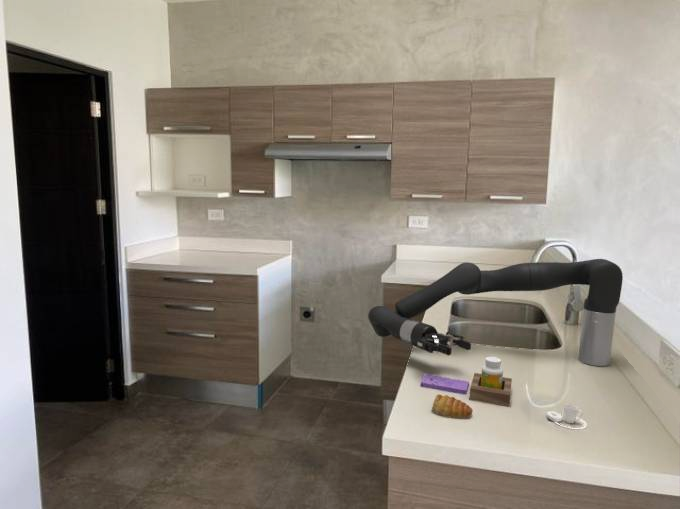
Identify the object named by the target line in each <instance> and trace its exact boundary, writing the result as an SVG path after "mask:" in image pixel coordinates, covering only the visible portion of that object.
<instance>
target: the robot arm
mask: <svg viewBox="0 0 680 509" xmlns="http://www.w3.org/2000/svg"><path fill="white" fill-rule="evenodd" d="M623 278H624V276H623V271H622V268H620V266H619V265H618V264H617V263H615V262H612V261H610V260H608V259H604V258H595V259H594V258H593V259H589V260H582V261H572V262H556V261H555V262H550V261H549V262H547V261H546V262H545V261H543V262H541V261H540V262H538V261H534V262H523V263H516V264H513V265H509V266H506V267H502V268H499V269H494V270H491V269H490V270H481V269H480V268H479V267H478V265H476V264H475V263H472V262H469V261H467V262H462V263H460V264H458V265H456V266H455V267H454V268H453V269H452V270H450V271H449V272H447V273H446V274H444V275H443V276H442V277H440V278H438V279H437V280H435V281H434V282H432V283H430V284H429V285H427V286H425V287H423V288H420V289H419V290H417V291H415V292H413V293H411V294H409V295H407V296H405V297H403V298H401V299H400V300H399V299H398V301H396V302H395V303H394V310H392V309H390V308H389V307H386V306H385V305H376V306H374V307H372V308H371V309H370V310H369V312H368V315H367V318H368V321H369V322H370V324H371V327H372V328H373V331H374V332H375V335H377V336H378V337H382V338H386V337H389V336H392V338H395V339H397V340H400V341H403V342H405V343H407V344H408V345H411V346H414V347H416V348H417V349H420V350H422V351H425V352H427V353H430V354H434V352H435V353H440V354H444V355H446V356H451V355H452V351H453V350H452V347H457V348H460V349H464V350H467V351H470V350H471V348H472V343H471V342H469V341H467V340H464V336H462V335H460V334H457V333H453V332H449V331H447V332H445V334H444V333H441V332H438V330H437V329H436V327H435V326H434V325H431V324H427V323H424V322H421V321H418V320H414V319H413V318H414V317H417V316H419V315H421V314H423V313H424V312H426V311H427V310H429V309H431V308H432V307H433V306H435V305H436V304H437V303H439V302H440V301H442V300H443V299H445V298H446V297H449V296H451V295H452V294H455V293H459V294H460V295H465V296H466V295H475V294H484V293H490V292H491V293H492V292H535V291H536V292H538V291H540V292H541V291H549V290H552V289H557V288H561V287H564V286H565V287H566V286H571V285H573V286H574V285H575V286H577V285H584V286H588V287H589V289H588V294H587V297H586V298H585V299H584V302H583V310H582V311H583V312H582V320H581V321H582V322H581V330H580V339H579V346H578V356H577V357H578V358H577V360H578V361H580V362H581V363H583V364H586V365H589V366H595V367H607V366H610V363H611V357H612V356H611V355H612V349H613V348H612V347H613V337H614V331H615V321H616V313H617V307H618V305H619V303H620V299H621V294H622V286H623V280H624V279H623Z"/></svg>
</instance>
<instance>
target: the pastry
mask: <svg viewBox="0 0 680 509" xmlns="http://www.w3.org/2000/svg"><path fill="white" fill-rule="evenodd" d="M431 410H432V411H433V412H434V413H435V414H436V415H442V416H444V417H447V418H454V419H469V418H471V417H472V415H473V410H474V409H473V408H472V407H471V406H470V405H469V404H467V403H466V402H463V401H462V400H460V399H457V398H455V396H450V395H447V394H445V395H442V394H440V393H439V394H436V395H435V397H434V400H433V403H432V407H431Z"/></svg>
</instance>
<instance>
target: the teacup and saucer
mask: <svg viewBox="0 0 680 509" xmlns="http://www.w3.org/2000/svg"><path fill="white" fill-rule="evenodd" d="M562 409H563V411H562V412H563V413H558V412H556V411H553V410H548V411H547V412H546V413H545V414H546V417H547V419H549V420H551V421H552V422H553V423H554V424H556V425H557V424H558V426H559V425H560V424H561V422H562V421H563V420H564V423H566V422H567V423H566V424H570V423H572V424H574V423H575V422H578V421H579V419H580V421H581V422H582V423H584V424H583V426H584V427H581V428H573V427H574V426H573V427H572V426H568V427H566V426H567V425H565V426H563V425H564V424H562V425H560V427H562V428H564V429H570V430H577V429H579V430H584V429H586V428H587V427H588V423H587V422H586V421H585V420H584V419H582V417H583V415H584V414H583V411H582V410H580V409H579V408H578V406H576V405H574V404H564V405H563V408H562ZM579 412H580V413H581V415H580V416H578V413H579ZM561 414H562V415H563V416H561ZM580 421H579V422H580ZM558 422H559V423H560V424H559V423H558ZM581 422H580V423H581ZM582 423H581V424H582ZM571 427H572V428H571Z"/></svg>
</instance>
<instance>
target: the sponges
mask: <svg viewBox="0 0 680 509" xmlns="http://www.w3.org/2000/svg"><path fill="white" fill-rule="evenodd" d="M420 387H422V388H426V389H427V388H428V389H432V390H439V391H443V392H450V393H455V394H460V395H467V394H468V389H469V387H470V382H469V381H467V380H461V379H456V378H451V377H447V376H440V375H436V374H431V373H424V375H423V377H422V379H421V380H420Z"/></svg>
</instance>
